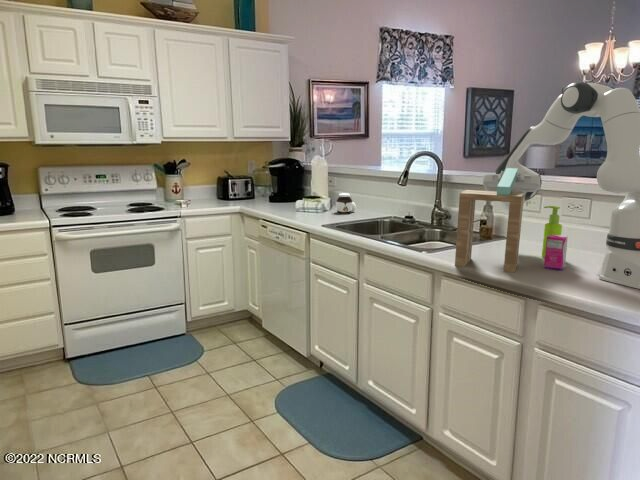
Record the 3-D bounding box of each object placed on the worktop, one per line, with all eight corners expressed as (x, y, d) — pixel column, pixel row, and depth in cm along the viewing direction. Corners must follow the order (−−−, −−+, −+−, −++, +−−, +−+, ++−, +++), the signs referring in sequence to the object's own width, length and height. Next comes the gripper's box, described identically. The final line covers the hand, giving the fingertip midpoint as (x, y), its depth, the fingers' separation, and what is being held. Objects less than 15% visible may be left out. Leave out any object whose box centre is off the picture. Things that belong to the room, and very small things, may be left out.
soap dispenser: (542, 254, 193) (547, 204, 189) (560, 258, 188) (566, 206, 184) (536, 257, 189) (541, 206, 185) (554, 260, 184) (560, 207, 180)
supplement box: (547, 264, 177) (551, 234, 175) (565, 267, 174) (569, 236, 172) (543, 268, 173) (546, 236, 171) (561, 270, 169) (564, 238, 167)
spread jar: (335, 213, 297) (335, 194, 295) (337, 210, 308) (338, 192, 306) (354, 214, 295) (355, 195, 293) (356, 211, 306) (357, 193, 304)
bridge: (461, 257, 187) (466, 189, 182) (517, 263, 179) (524, 192, 174) (454, 265, 175) (459, 193, 170) (514, 272, 166) (521, 196, 161)
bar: (506, 175, 185) (506, 168, 184) (517, 176, 183) (517, 168, 182) (496, 194, 165) (497, 186, 164) (509, 195, 164) (509, 187, 162)
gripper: (539, 197, 186) (540, 181, 174) (483, 195, 195) (481, 179, 183) (541, 183, 188) (542, 166, 176) (486, 180, 196) (483, 164, 184)
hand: (510, 172), depth 179 cm, fingers closed on bar, 4 cm apart
